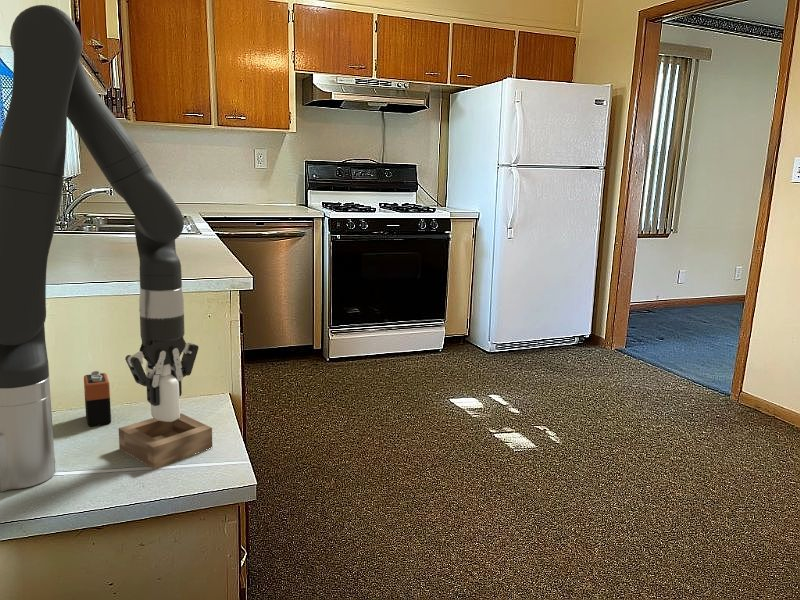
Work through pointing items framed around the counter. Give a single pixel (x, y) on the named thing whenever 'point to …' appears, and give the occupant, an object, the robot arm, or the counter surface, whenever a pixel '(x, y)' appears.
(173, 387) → the eye dropper bottle
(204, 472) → the counter surface
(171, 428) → the walnut open box
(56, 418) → the counter surface
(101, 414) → the battery
